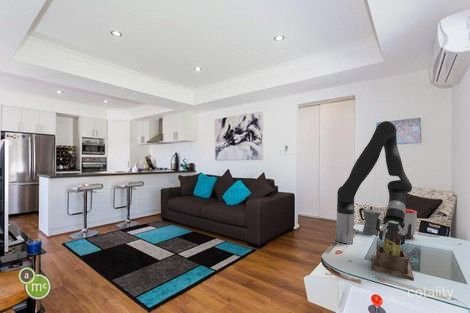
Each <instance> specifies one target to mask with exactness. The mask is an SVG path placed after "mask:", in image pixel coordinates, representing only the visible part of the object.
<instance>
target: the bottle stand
mask: <svg viewBox="0 0 470 313" xmlns="http://www.w3.org/2000/svg"><path fill="white" fill-rule="evenodd" d="M383 250H384V245H379V244H377V245H376V254H372V256H371V270H372V271H374V270H375V272H379V273H383V274H387V273H388V274H387V275H392V276H396V277H400V278H403V279H408V280H411V281H414V280H415V277H414V276H415V275H414V273H413V270H412V267H411V264H410V262H409V257H408V254H407V251H406V250H405V249H400V257H398V256H393V255H389V254H384V253H383Z"/></svg>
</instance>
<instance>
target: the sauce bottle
mask: <svg viewBox="0 0 470 313" xmlns="http://www.w3.org/2000/svg"><path fill="white" fill-rule="evenodd" d="M398 226H399V223H398V222H395V221H388V231H386V233H385V236H384V237H383V240H384V241H383V246H384V250H383V253H384V254H389V255H393V256H398V257H400V250H401V237H400V236H399V234H398Z"/></svg>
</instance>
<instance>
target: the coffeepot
mask: <svg viewBox="0 0 470 313" xmlns="http://www.w3.org/2000/svg"><path fill="white" fill-rule="evenodd" d="M358 213H359V216H360V220H361V221H364V224H363V228H362V229H363V230H362V233H363V232H364V233H363V234H365V233H366V234H365V235H367V234H371V235H370V236H373V235H377V236H379V232H377V231H376V223H377V219H378V218H379V216H381V215H382V213H381V212H380V211H378V210H376V209H373V206H369V209H367V208H365V207H360V208H359V209H358Z"/></svg>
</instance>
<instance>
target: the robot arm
mask: <svg viewBox="0 0 470 313" xmlns="http://www.w3.org/2000/svg"><path fill="white" fill-rule="evenodd" d="M397 130H398V129H397V127H396V125H395V123H394V122H392V121H390V120H384V121H382V122H380V123H379V124H378V125H377V126H376V128H375V130H374V132H373V134H372V136H371V138H370V140H369V141H368V143H367V144H366V146H365V147H364V148H363V150H362V152H361V153H360V154H359V156H358V158H357V159H356V160H355V162H354V165H353V166H352V169H351V172H350V174H349V176H348V177H347V180H345V182H344V183H343V185H342V186H340V187H338V190H337V195H336V196H337V197H336V198H337V200H336V203H337V204H336V224H335V241H336V242H338V241H339V242H338V243H340V242H342V243H341V244H344V243H347V244H346V245H351V243H352V244H354V229H355V228H354V225H355V224H354V222H355V220H354V219H355V197H356V194H357V192H358V190H359V188H360V186H361V185H362V183H363V182H364V181H365V179H366V178H367V177H368V176H369V175H370V173H371V172H372V170H373V169H374V167H375V166H376V164H377V162H378V161H379V158H380V155H381V152H382V150H383V149H384V157H385V165H386V168H387V174H388V175H389V176H390V177H397V178H399V179H397V180H396V179H395V180H391V181H389V182H388V183H387V185H386V187H387V192H388V203H387V205H386V210H385V216H384V220H383V219H380V218H379V217H378V219H377V223H376V231H377V232H378V237H379V238H378V239H379V240H380V241H383V240H384V233H385V232H387V231H388V221H395V222H398V223H399V226H398V232H399V233H400V234H401V237H400V239H401V240H400V246H403V245H405V244H406V239H412V238H411V232H412V225H411V224H409V225H407V224H404V218H405V208H406V204H407V203H406V202H407V197H406V195H404V194H407V193H411V192H412V190H413V186H412V183H411V180H409V178H408V177H407V174H406V172H405V170H404V167H403V166H404V165H403V161H402V157H401V155H400V152H399V147H398V142H397V140H398V139H397V132H398V131H397ZM381 225H383V226H382V227H381ZM404 227H406V229H407V230H408V232H407V234H405V233H404V231H403V228H404Z"/></svg>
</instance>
